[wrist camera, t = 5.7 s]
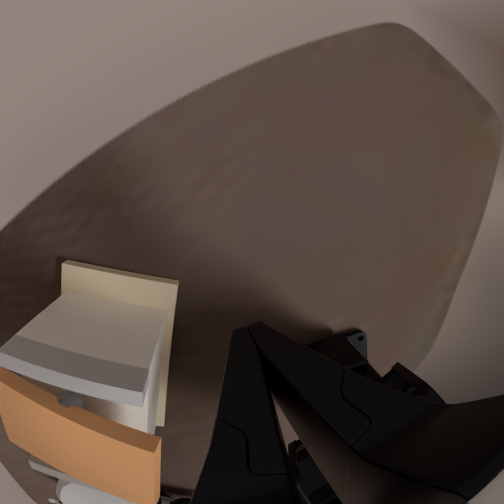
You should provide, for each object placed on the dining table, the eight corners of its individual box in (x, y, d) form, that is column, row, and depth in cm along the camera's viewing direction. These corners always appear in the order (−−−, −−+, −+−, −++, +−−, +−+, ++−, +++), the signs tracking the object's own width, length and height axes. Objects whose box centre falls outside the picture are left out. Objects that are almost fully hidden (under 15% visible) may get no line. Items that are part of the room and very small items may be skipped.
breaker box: (179, 280, 20) (158, 357, 10) (164, 418, 22) (154, 515, 12) (67, 259, 19) (-17, 310, 9) (73, 398, 21) (32, 481, 11)
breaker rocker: (166, 425, 11) (154, 453, 10) (163, 485, 12) (154, 509, 10) (10, 359, 12) (-12, 373, 10) (25, 424, 12) (9, 440, 11)
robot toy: (220, 486, 26) (88, 427, 21) (226, 518, 21) (78, 463, 17) (161, 521, 26) (50, 473, 22) (162, 548, 22) (42, 502, 18)
